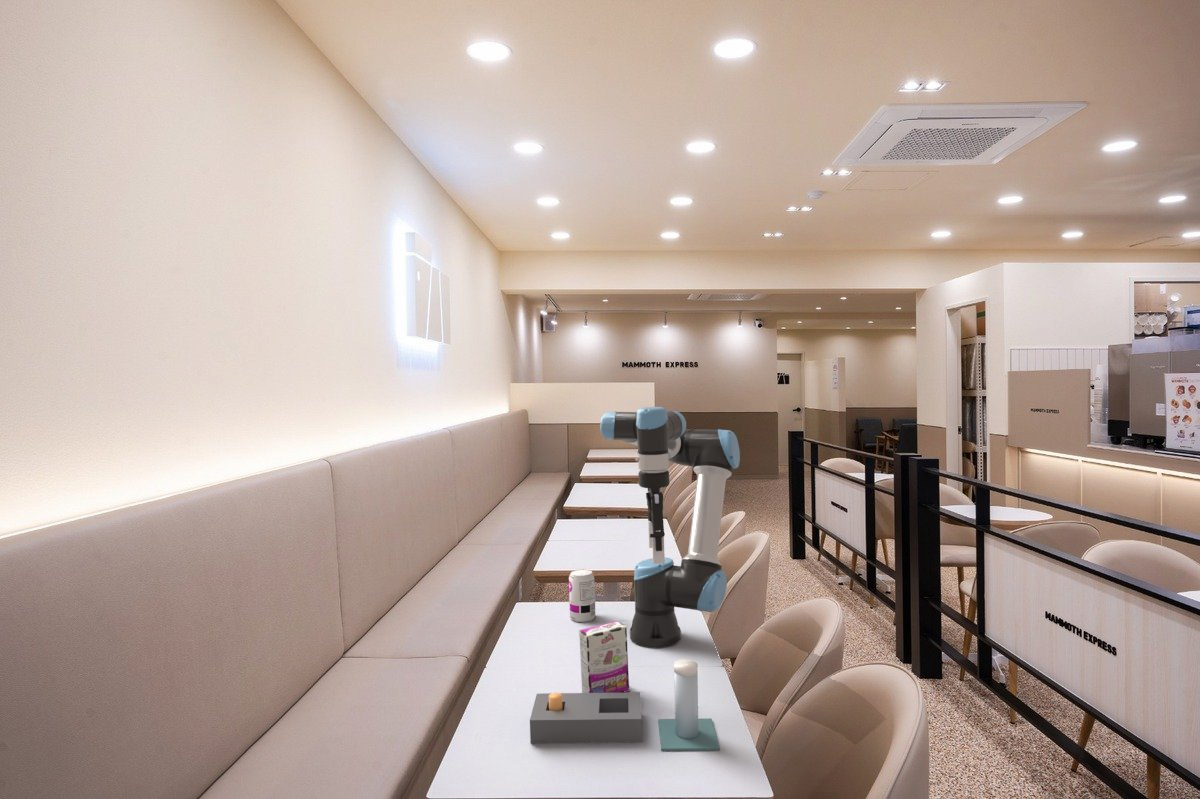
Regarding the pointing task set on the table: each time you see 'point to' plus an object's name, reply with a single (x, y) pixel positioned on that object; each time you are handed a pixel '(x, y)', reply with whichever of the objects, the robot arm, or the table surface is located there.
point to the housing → (587, 718)
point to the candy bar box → (604, 658)
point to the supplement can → (582, 595)
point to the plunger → (555, 702)
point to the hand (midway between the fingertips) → (656, 555)
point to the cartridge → (686, 699)
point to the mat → (700, 743)
